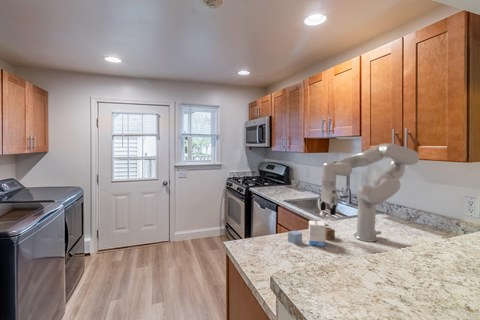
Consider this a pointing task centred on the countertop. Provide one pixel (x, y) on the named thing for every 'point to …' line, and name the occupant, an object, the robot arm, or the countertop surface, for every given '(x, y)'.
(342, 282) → the countertop surface
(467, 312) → the countertop surface
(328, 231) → the walnut cube
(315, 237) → the ink box
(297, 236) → the slate cube
